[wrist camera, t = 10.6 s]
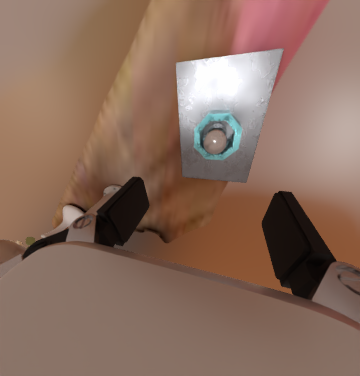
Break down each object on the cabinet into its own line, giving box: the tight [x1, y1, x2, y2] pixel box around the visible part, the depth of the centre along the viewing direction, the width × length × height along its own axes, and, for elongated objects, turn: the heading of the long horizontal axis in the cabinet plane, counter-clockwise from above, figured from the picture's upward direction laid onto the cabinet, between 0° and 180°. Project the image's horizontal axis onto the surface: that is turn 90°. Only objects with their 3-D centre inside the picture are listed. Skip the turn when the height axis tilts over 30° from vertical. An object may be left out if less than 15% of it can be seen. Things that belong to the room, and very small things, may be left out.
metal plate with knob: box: [176, 48, 284, 183], centre depth 22 cm, size 20×14×7 cm
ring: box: [194, 110, 242, 160], centre depth 22 cm, size 7×7×4 cm
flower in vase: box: [12, 205, 85, 249], centre depth 50 cm, size 13×11×25 cm
